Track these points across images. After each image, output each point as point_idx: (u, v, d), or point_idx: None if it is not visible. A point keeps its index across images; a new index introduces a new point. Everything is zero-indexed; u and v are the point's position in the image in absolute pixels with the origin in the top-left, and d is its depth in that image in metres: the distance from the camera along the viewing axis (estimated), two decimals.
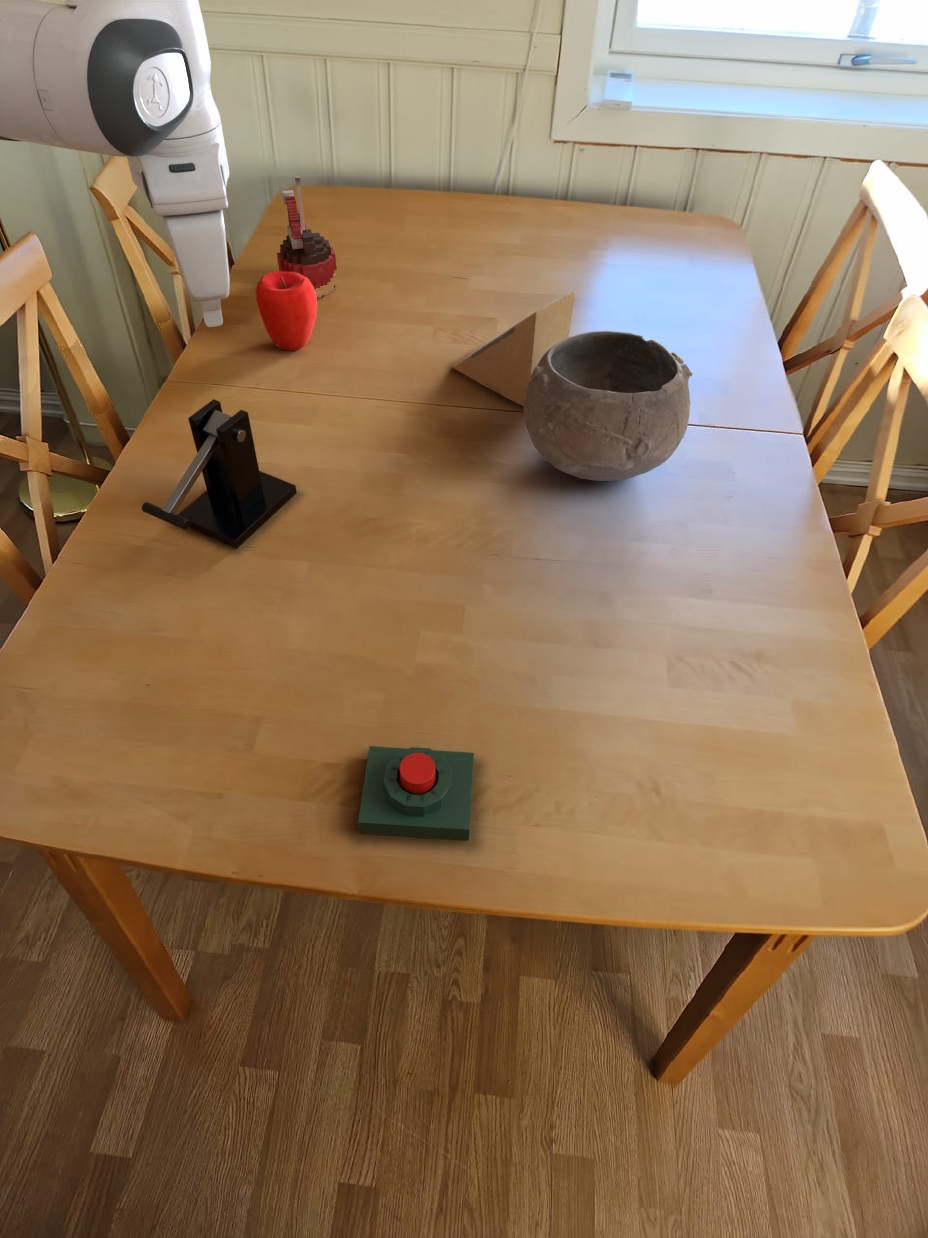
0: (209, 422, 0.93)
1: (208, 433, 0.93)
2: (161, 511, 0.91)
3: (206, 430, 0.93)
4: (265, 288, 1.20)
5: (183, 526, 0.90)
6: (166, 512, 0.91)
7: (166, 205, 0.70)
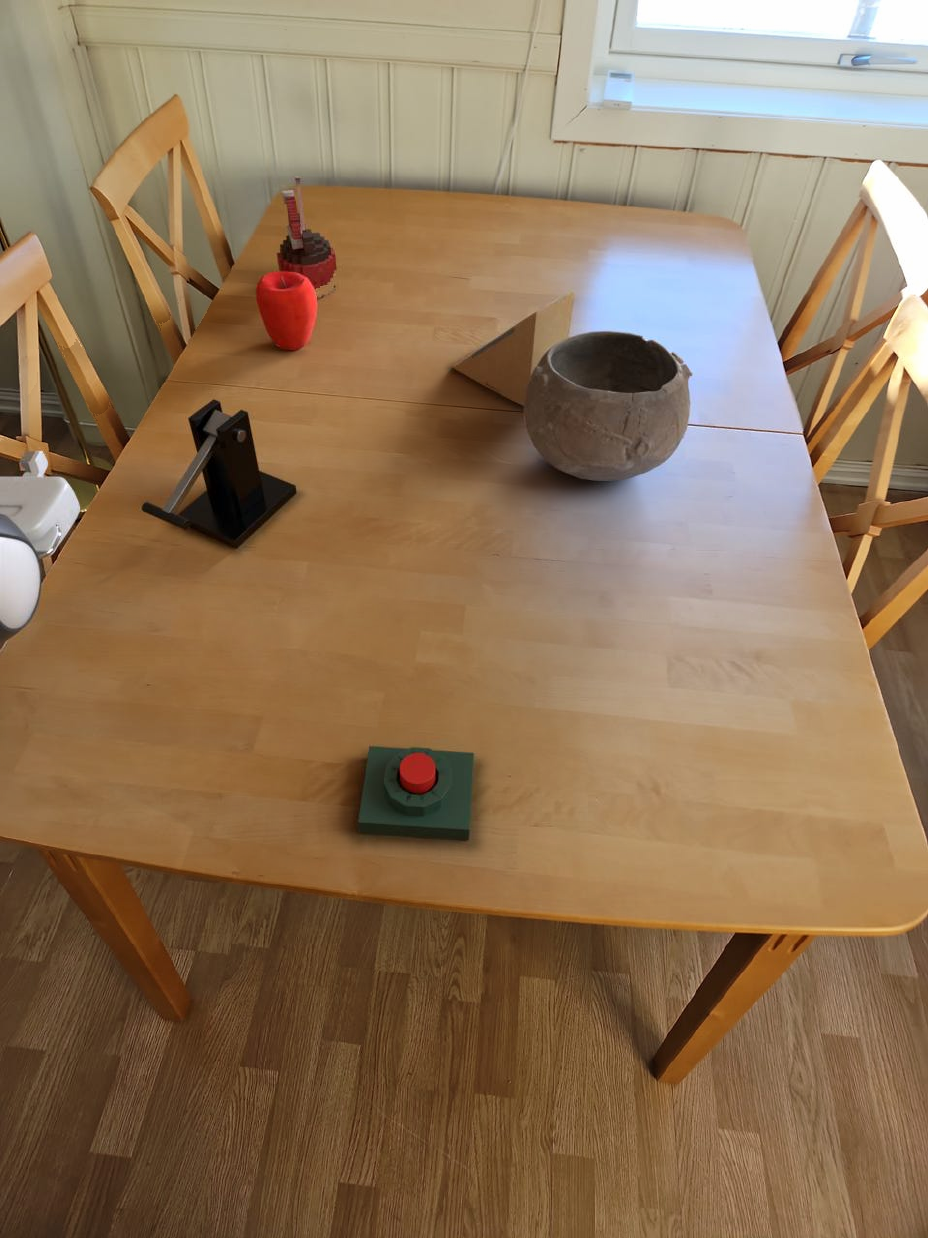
0: (209, 422, 0.93)
1: (208, 433, 0.93)
2: (161, 511, 0.91)
3: (206, 430, 0.93)
4: (265, 288, 1.20)
5: (183, 526, 0.90)
6: (166, 512, 0.91)
7: None
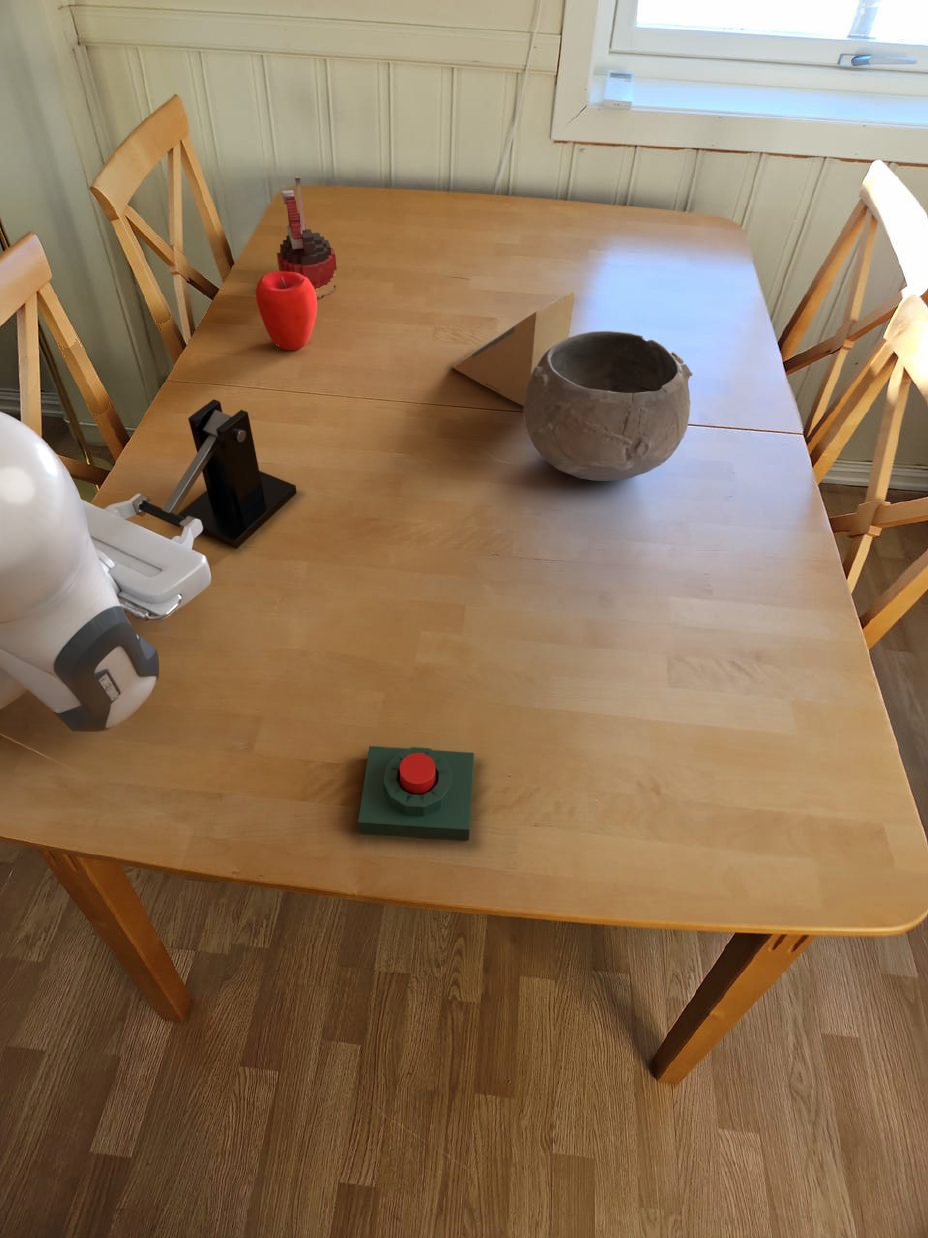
0: (209, 422, 0.93)
1: (208, 433, 0.93)
2: (161, 511, 0.91)
3: (206, 430, 0.93)
4: (265, 288, 1.20)
5: None
6: (166, 511, 0.91)
7: None
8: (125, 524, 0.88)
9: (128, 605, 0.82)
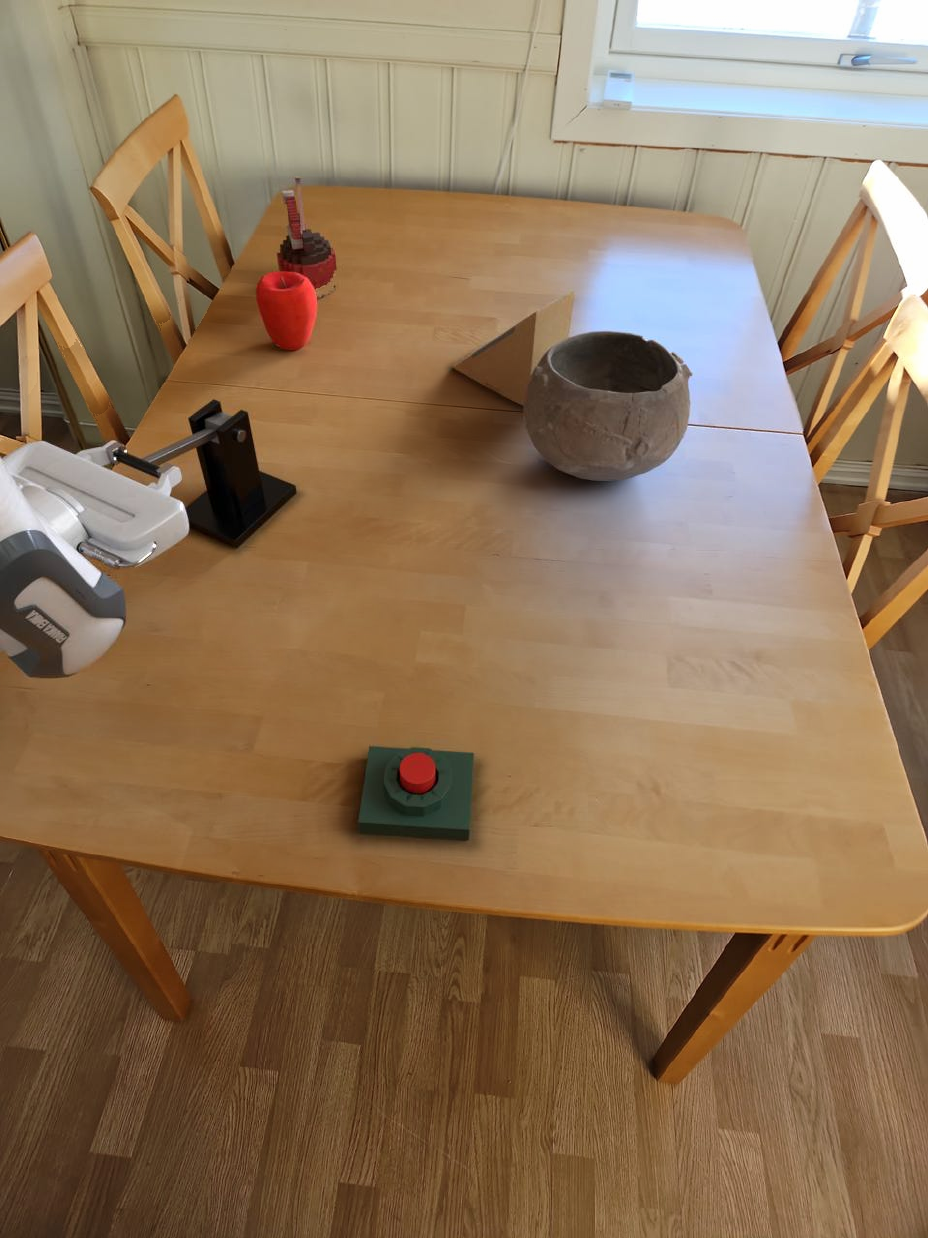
0: (213, 417, 0.93)
1: (208, 425, 0.93)
2: (140, 459, 0.85)
3: (208, 420, 0.93)
4: (265, 288, 1.20)
5: None
6: (145, 460, 0.85)
7: None
8: (97, 469, 0.81)
9: (97, 552, 0.75)
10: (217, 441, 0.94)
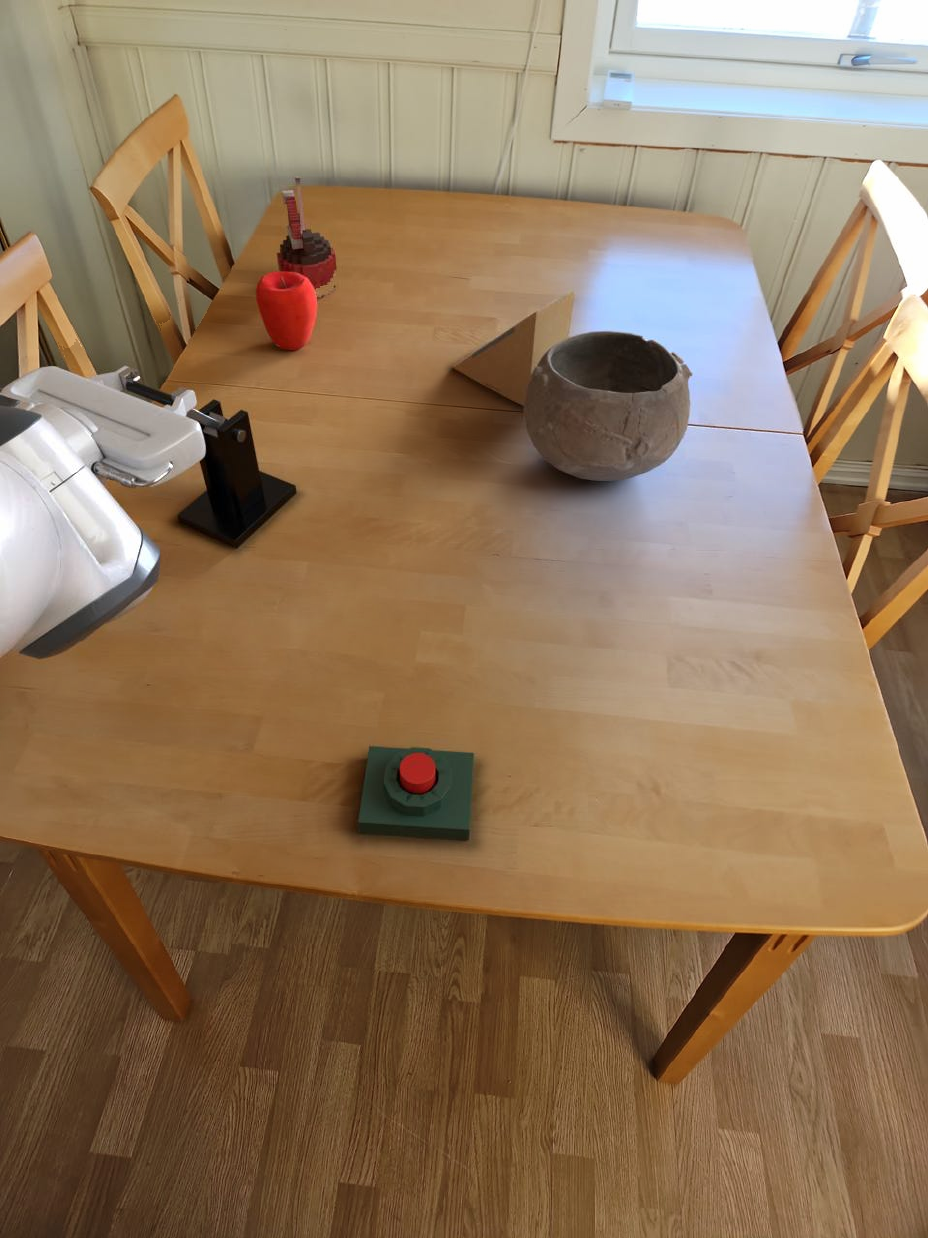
0: None
1: (212, 417, 0.93)
2: None
3: None
4: (265, 288, 1.20)
5: None
6: None
7: None
8: (110, 391, 0.79)
9: (112, 471, 0.73)
10: (215, 434, 0.93)
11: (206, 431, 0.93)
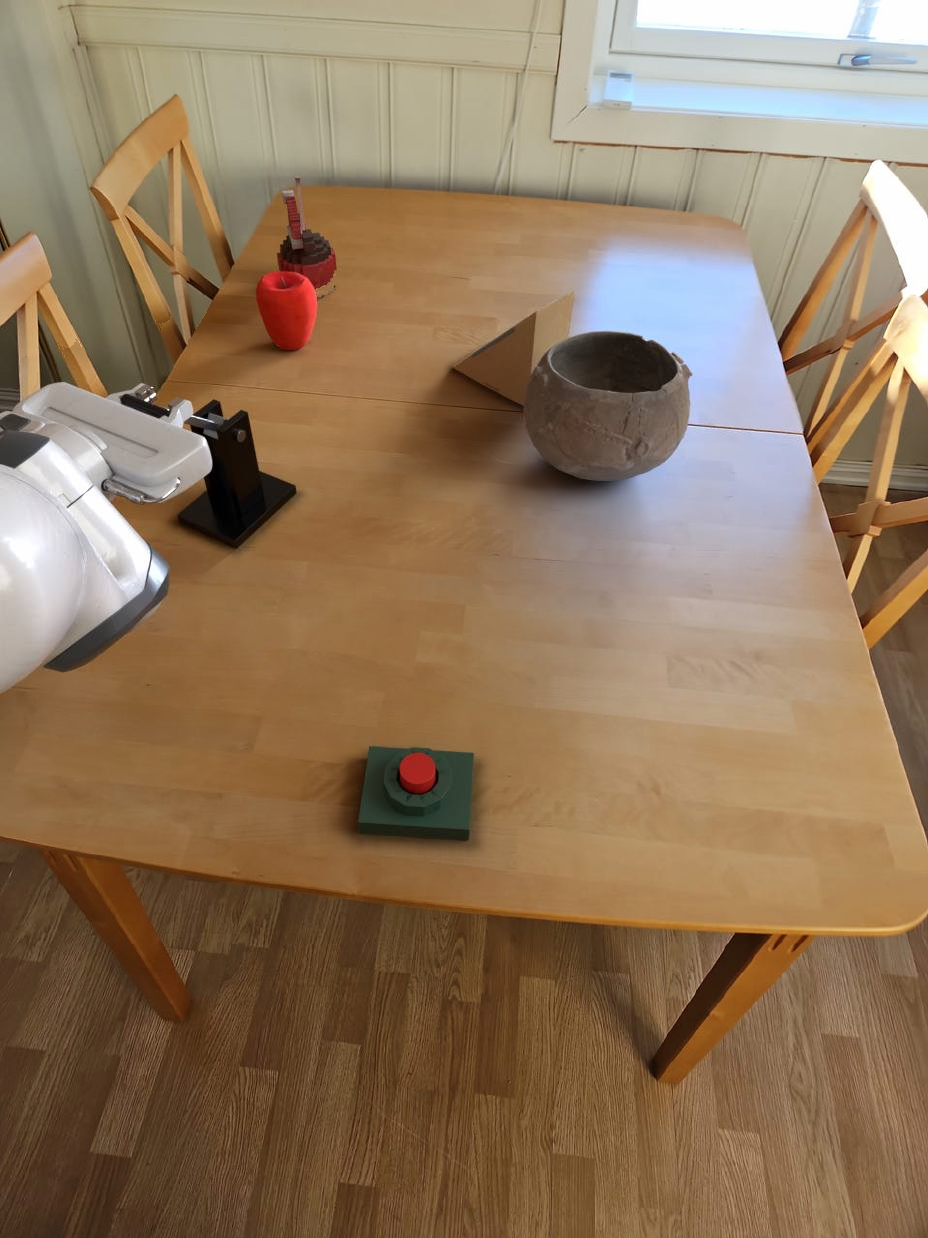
0: (216, 415, 0.94)
1: (211, 418, 0.93)
2: None
3: (212, 414, 0.93)
4: (265, 288, 1.20)
5: (169, 413, 0.82)
6: (152, 404, 0.83)
7: None
8: (118, 407, 0.81)
9: (122, 488, 0.75)
10: (215, 435, 0.93)
11: (206, 433, 0.93)
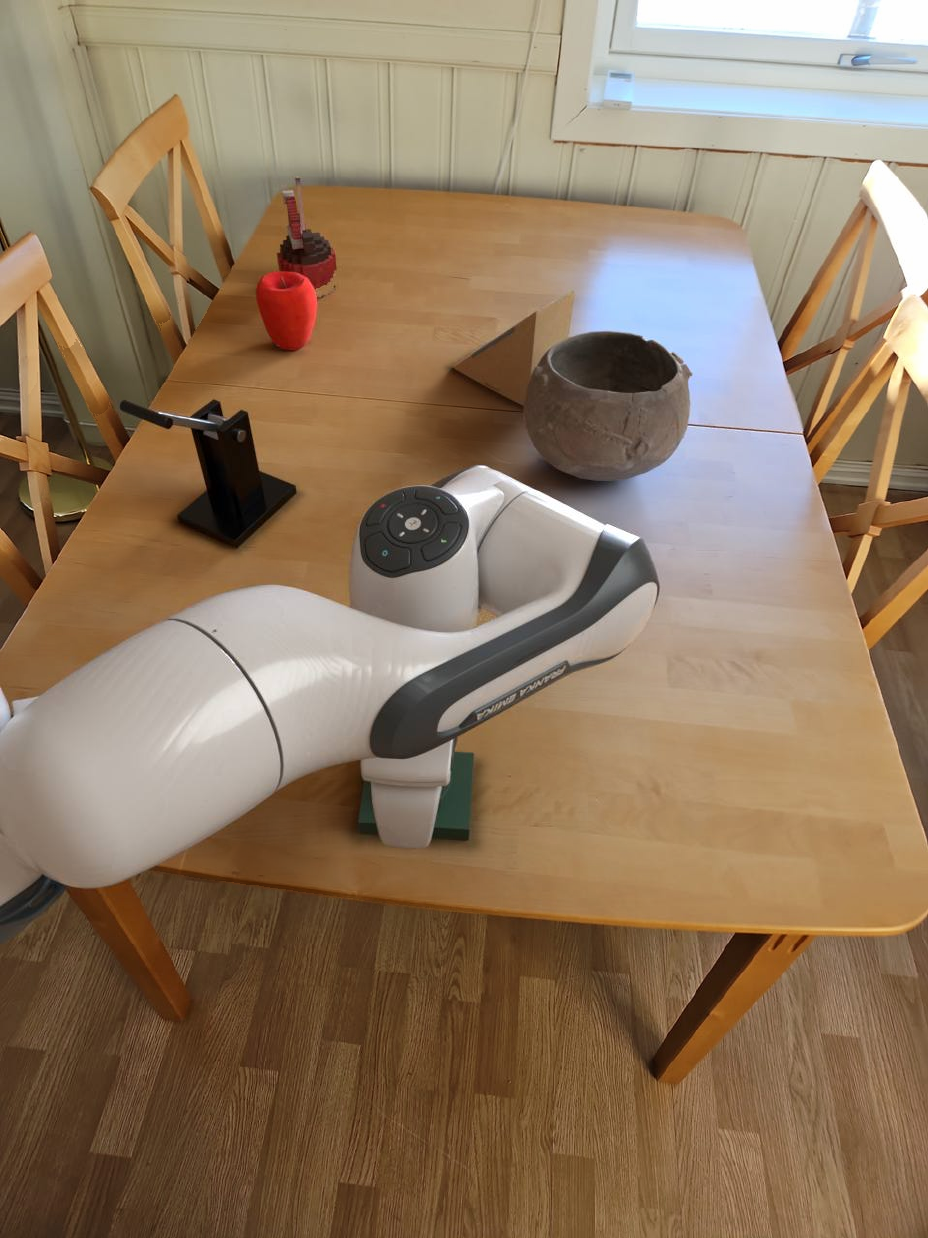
0: (216, 415, 0.94)
1: (211, 419, 0.93)
2: (145, 408, 0.83)
3: (212, 415, 0.93)
4: (265, 288, 1.20)
5: (167, 420, 0.82)
6: (150, 410, 0.83)
7: (376, 779, 0.58)
8: None
9: None
10: (215, 436, 0.93)
11: (206, 433, 0.93)
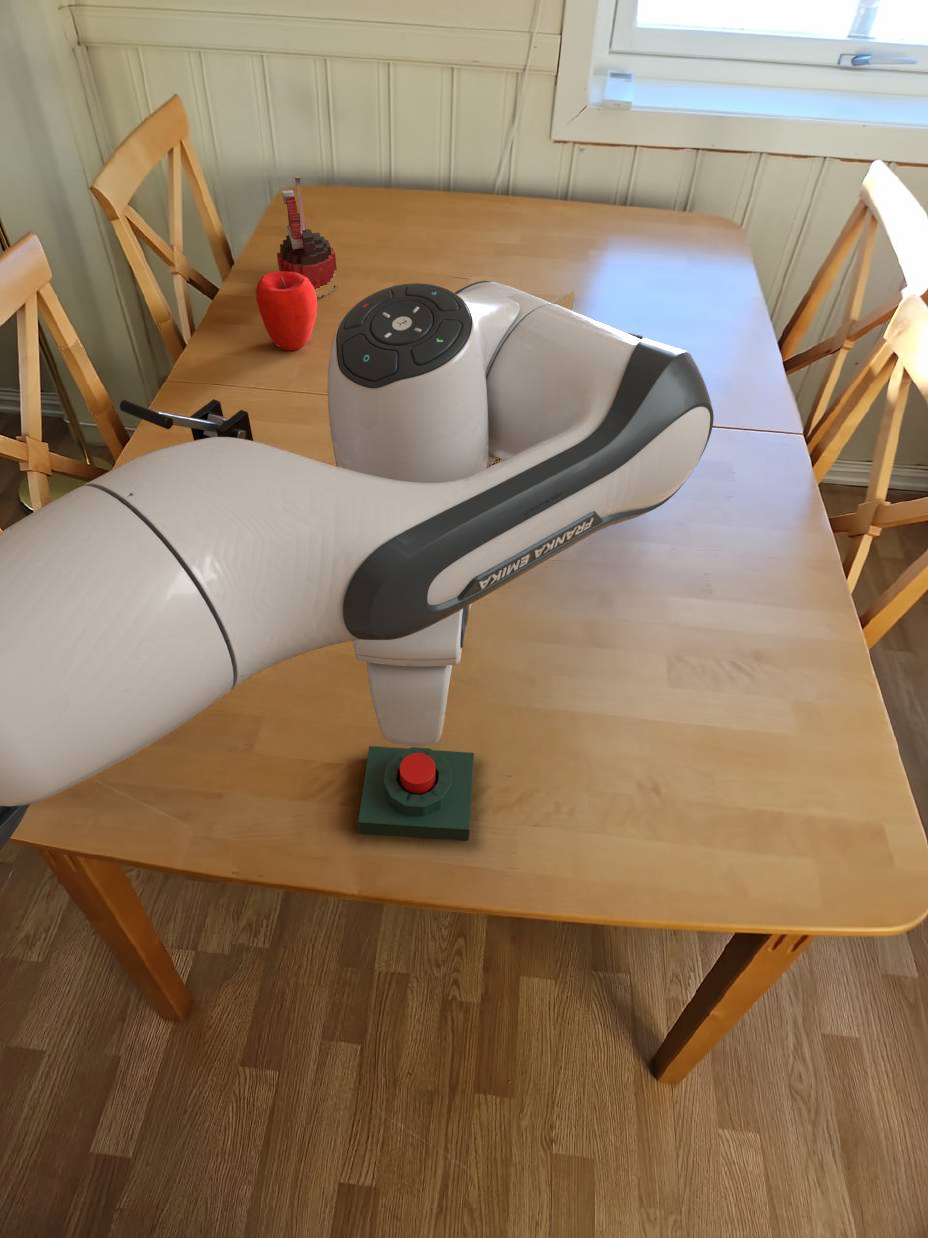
0: (216, 415, 0.94)
1: (211, 419, 0.93)
2: (145, 408, 0.83)
3: (212, 415, 0.93)
4: (265, 288, 1.20)
5: (167, 420, 0.82)
6: (150, 410, 0.83)
7: (372, 658, 0.48)
8: None
9: None
10: (215, 436, 0.93)
11: (206, 433, 0.93)
